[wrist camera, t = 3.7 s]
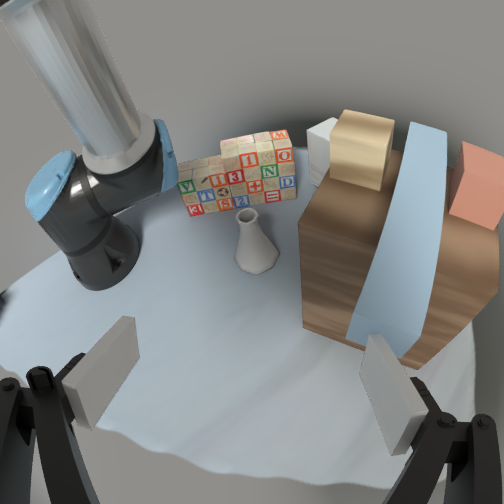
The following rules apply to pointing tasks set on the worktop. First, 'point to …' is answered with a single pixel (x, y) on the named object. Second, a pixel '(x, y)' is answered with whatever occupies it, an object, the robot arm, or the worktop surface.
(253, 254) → the flask
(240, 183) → the stack of blocks
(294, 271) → the worktop surface
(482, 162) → the brick cube
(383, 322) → the blue bar
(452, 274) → the walnut stand
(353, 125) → the oak cube
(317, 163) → the supplement box
